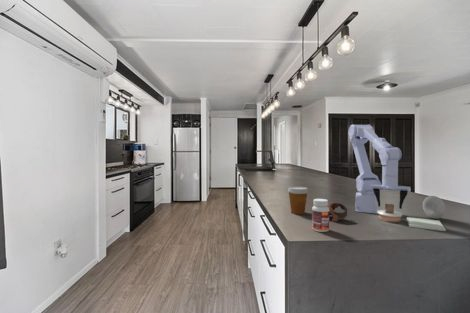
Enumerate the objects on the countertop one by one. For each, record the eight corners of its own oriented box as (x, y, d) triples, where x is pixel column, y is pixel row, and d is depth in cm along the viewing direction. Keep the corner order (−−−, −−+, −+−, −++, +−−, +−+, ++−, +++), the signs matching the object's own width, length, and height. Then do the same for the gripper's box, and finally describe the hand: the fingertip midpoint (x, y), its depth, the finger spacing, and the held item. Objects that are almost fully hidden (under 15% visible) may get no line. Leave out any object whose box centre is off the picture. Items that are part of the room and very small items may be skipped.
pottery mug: (343, 217, 112) (349, 204, 108) (343, 232, 104) (349, 218, 100) (316, 209, 115) (321, 195, 111) (314, 223, 108) (319, 209, 103)
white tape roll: (447, 221, 103) (448, 197, 103) (439, 221, 103) (440, 198, 103) (427, 215, 113) (428, 193, 113) (420, 215, 113) (420, 193, 113)
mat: (409, 226, 97) (409, 224, 97) (406, 218, 108) (406, 216, 108) (445, 231, 91) (445, 229, 91) (439, 222, 102) (439, 220, 102)
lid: (376, 214, 105) (376, 205, 105) (377, 210, 113) (377, 201, 113) (403, 217, 100) (403, 207, 100) (401, 212, 108) (401, 203, 108)
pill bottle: (324, 233, 89) (324, 202, 89) (308, 229, 94) (308, 199, 93) (332, 229, 93) (332, 200, 93) (317, 226, 98) (317, 197, 97)
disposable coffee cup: (296, 216, 113) (297, 189, 112) (283, 211, 121) (283, 187, 121) (312, 213, 117) (312, 188, 117) (298, 209, 126) (298, 185, 125)
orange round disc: (377, 220, 105) (377, 214, 105) (378, 216, 113) (378, 210, 112) (402, 223, 101) (402, 217, 101) (400, 218, 108) (400, 213, 108)
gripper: (370, 175, 106) (370, 207, 107) (411, 177, 99) (411, 211, 99) (370, 174, 113) (370, 204, 113) (409, 175, 105) (409, 207, 105)
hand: (389, 207), depth 106 cm, fingers open, 7 cm apart
